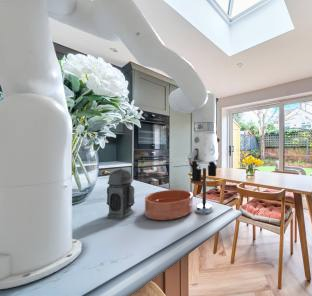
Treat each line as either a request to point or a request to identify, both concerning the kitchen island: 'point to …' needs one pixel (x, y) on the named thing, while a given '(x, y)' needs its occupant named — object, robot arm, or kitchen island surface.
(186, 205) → the bowl
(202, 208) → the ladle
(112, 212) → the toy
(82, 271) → the kitchen island surface
